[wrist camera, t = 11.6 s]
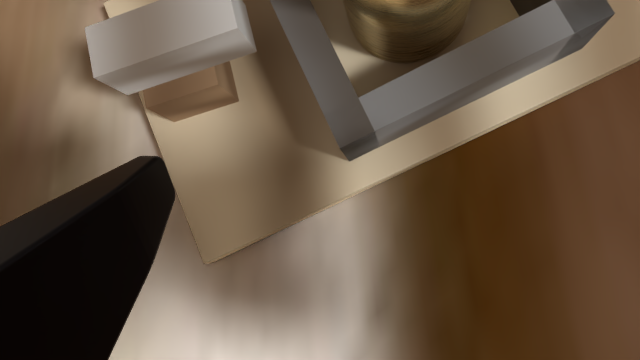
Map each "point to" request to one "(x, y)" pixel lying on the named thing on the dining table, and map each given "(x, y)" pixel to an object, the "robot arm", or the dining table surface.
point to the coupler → (406, 26)
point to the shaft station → (332, 95)
